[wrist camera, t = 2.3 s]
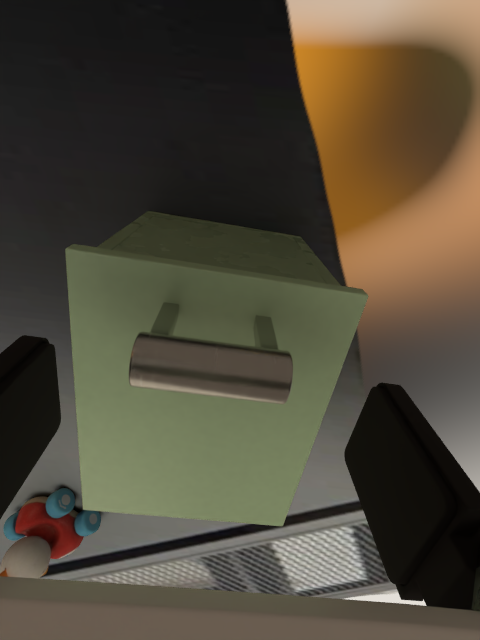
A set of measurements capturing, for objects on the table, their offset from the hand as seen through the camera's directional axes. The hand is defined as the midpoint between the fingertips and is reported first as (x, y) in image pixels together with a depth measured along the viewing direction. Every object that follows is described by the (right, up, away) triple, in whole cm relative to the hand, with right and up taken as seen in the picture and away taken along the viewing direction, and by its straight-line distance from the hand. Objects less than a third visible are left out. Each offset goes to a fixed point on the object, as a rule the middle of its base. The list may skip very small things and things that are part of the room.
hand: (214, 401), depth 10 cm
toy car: (-23, -22, +33) cm, 46 cm away
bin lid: (-1, -2, +8) cm, 8 cm away
